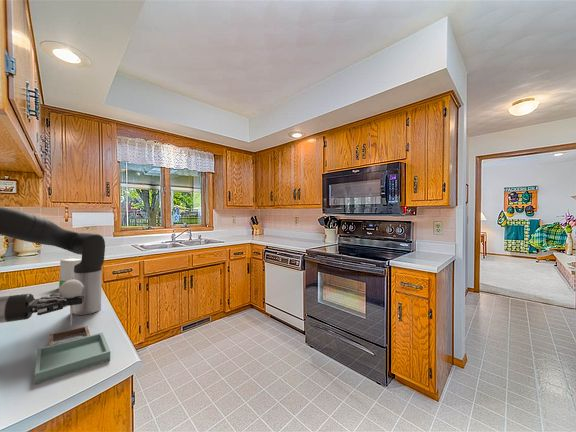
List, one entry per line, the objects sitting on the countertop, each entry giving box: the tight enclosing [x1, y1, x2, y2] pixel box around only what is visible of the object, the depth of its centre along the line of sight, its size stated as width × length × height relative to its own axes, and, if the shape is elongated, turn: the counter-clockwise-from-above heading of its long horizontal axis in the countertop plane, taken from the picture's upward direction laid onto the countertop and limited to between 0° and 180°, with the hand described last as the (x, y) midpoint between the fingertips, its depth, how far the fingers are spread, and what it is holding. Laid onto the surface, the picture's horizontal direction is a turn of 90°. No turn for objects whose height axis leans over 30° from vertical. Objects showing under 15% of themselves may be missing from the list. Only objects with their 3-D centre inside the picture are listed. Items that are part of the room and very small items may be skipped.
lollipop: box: [58, 280, 84, 327], centre depth 81 cm, size 6×6×15 cm
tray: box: [34, 332, 111, 385], centre depth 71 cm, size 15×15×2 cm
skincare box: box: [58, 257, 82, 289], centre depth 139 cm, size 8×7×16 cm
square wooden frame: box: [49, 325, 91, 346], centre depth 81 cm, size 10×10×2 cm
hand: (83, 299), depth 83 cm, fingers closed on lollipop, 1 cm apart
